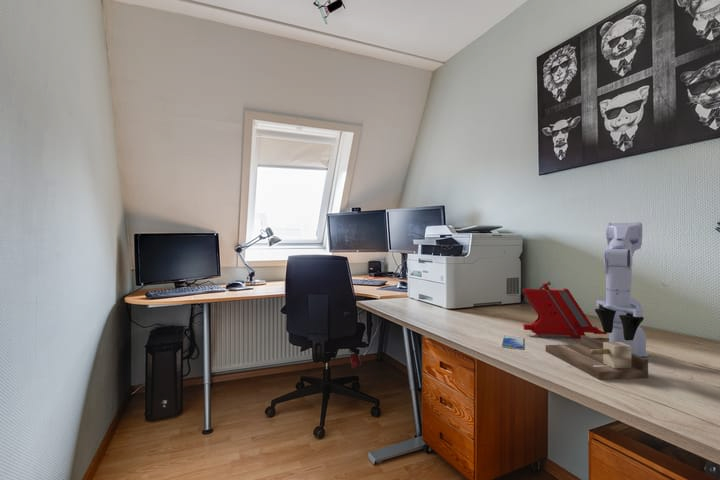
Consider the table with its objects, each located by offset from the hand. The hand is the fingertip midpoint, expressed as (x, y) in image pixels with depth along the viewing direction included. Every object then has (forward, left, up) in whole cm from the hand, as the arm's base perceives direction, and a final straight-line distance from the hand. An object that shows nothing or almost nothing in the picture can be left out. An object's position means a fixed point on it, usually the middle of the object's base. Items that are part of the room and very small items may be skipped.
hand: (617, 336), depth 103 cm
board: (+5, -4, -9) cm, 11 cm away
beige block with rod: (+6, +4, -7) cm, 10 cm away
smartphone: (+18, -26, -10) cm, 33 cm away
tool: (-6, -33, -10) cm, 35 cm away
